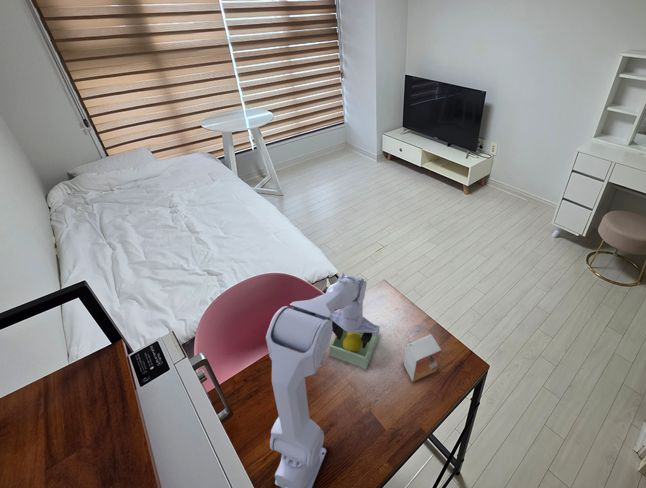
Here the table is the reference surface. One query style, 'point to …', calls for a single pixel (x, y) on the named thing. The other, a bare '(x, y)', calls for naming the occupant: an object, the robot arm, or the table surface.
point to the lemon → (352, 342)
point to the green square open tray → (354, 358)
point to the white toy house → (422, 357)
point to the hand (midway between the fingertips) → (352, 341)
